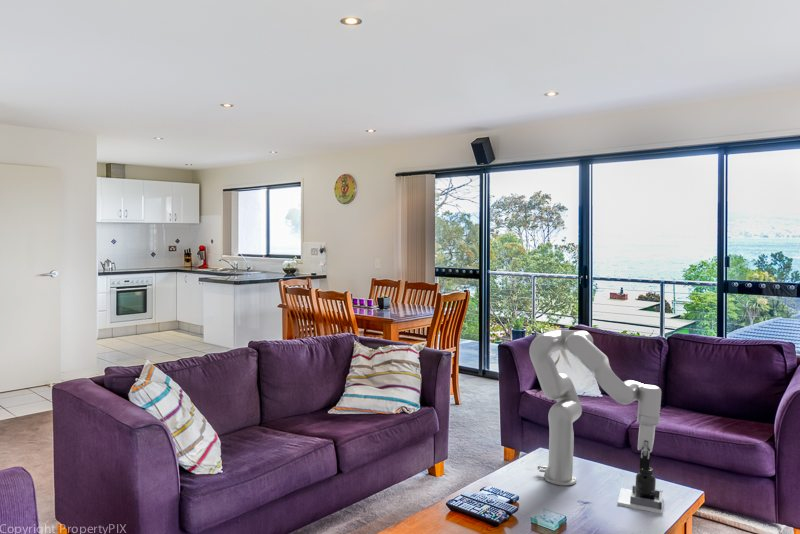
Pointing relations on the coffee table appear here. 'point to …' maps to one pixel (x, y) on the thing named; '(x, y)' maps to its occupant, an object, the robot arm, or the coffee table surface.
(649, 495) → the supplement bottle
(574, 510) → the coffee table surface
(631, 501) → the cradle tray
